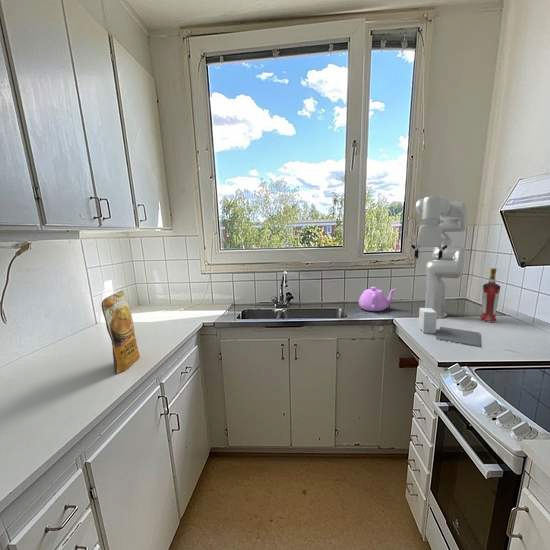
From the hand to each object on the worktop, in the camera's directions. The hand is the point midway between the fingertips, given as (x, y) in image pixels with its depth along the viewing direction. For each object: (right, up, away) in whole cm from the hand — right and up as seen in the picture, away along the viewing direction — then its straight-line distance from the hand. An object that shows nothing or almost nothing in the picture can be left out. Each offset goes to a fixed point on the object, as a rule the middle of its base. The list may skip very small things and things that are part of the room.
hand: (427, 258), depth 138 cm
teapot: (-11, -29, +40) cm, 50 cm away
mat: (+10, -36, -7) cm, 38 cm away
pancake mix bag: (-132, -43, -27) cm, 142 cm away
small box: (0, -35, +1) cm, 35 cm away
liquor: (+39, -32, +14) cm, 53 cm away
